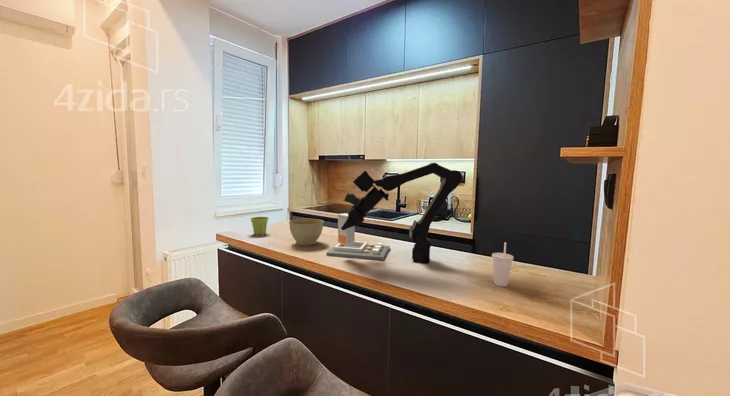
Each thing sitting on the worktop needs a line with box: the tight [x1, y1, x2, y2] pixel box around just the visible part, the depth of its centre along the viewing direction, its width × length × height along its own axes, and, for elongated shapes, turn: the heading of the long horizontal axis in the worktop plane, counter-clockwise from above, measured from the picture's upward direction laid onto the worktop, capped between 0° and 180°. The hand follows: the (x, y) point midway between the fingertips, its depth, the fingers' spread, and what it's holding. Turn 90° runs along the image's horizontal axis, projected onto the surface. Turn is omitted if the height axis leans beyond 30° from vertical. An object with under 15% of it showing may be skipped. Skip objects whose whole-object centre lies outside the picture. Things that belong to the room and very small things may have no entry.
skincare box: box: [337, 212, 356, 246], centre depth 120 cm, size 6×4×12 cm
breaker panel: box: [325, 240, 390, 261], centre depth 131 cm, size 24×18×3 cm
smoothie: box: [491, 242, 514, 288], centre depth 96 cm, size 6×6×14 cm
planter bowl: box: [288, 218, 324, 246], centre depth 143 cm, size 16×16×11 cm
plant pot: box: [249, 216, 270, 236], centre depth 161 cm, size 9×9×9 cm
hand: (342, 227), depth 120 cm, fingers closed on skincare box, 7 cm apart
